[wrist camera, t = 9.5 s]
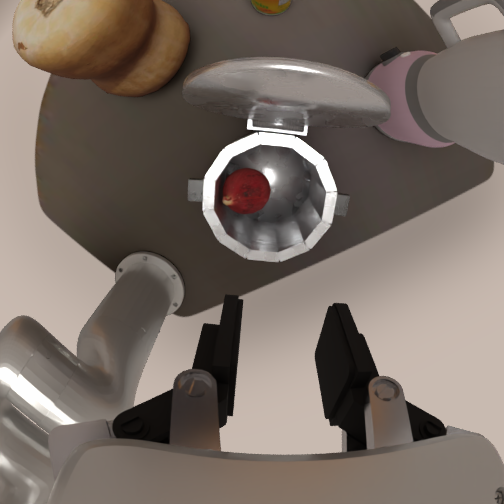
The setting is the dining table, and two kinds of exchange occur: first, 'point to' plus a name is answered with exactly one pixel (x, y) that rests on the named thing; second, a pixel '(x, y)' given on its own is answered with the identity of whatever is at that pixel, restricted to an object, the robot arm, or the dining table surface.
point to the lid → (287, 94)
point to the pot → (272, 196)
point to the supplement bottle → (271, 6)
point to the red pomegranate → (246, 191)
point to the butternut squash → (103, 41)
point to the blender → (448, 88)
